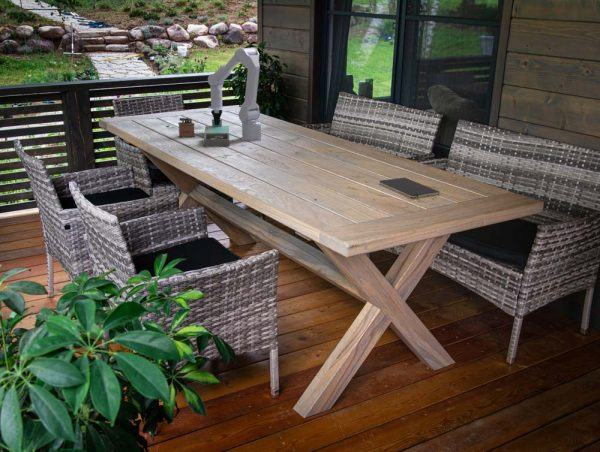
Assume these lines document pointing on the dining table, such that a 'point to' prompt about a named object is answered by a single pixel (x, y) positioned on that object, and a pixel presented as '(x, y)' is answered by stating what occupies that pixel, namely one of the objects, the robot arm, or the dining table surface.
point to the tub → (221, 142)
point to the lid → (216, 128)
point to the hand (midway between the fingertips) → (217, 124)
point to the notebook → (408, 187)
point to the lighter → (186, 128)
